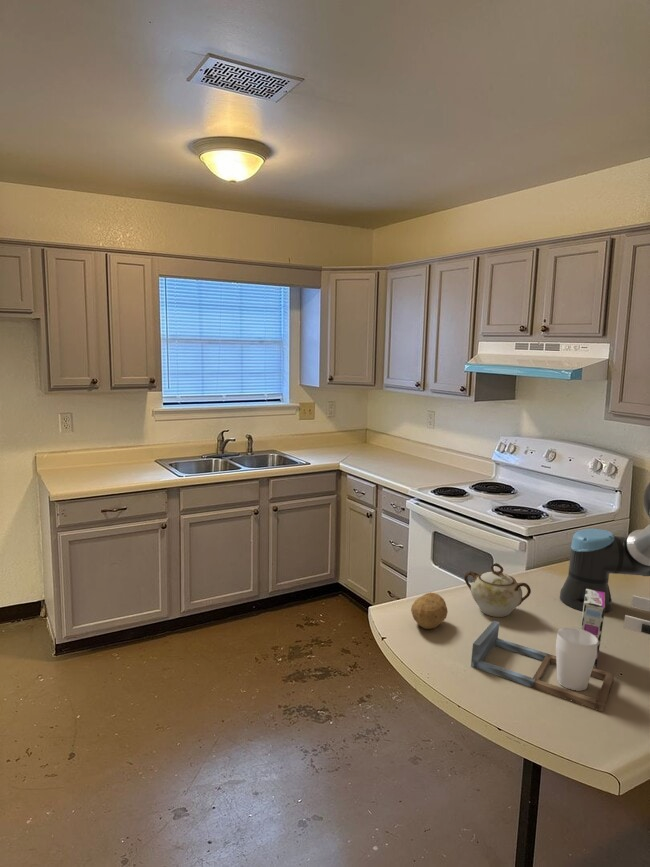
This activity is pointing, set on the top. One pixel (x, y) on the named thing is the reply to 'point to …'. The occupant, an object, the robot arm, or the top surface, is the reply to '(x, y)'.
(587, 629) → the candy bar box
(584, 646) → the cup
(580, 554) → the robot arm
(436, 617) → the potato
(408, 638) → the top surface
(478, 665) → the bay frame
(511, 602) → the sugar bowl
